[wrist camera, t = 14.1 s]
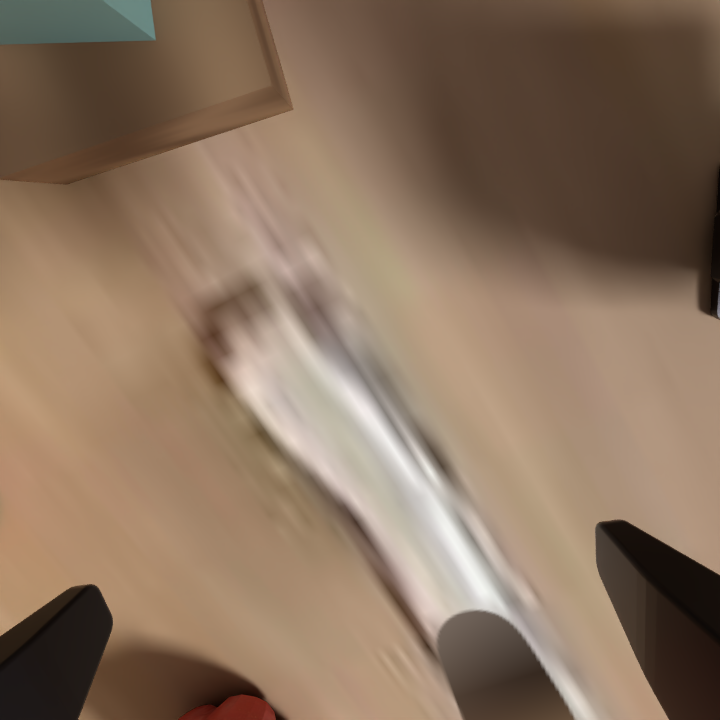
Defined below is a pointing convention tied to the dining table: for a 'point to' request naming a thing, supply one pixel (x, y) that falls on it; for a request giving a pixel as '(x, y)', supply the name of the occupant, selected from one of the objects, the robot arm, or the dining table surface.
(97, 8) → the teal block
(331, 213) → the dining table surface
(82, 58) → the walnut block
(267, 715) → the vegetable
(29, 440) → the dining table surface
